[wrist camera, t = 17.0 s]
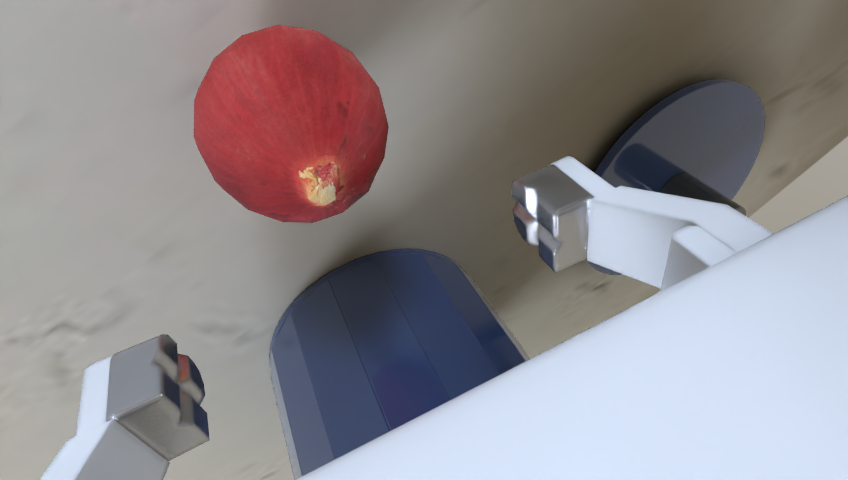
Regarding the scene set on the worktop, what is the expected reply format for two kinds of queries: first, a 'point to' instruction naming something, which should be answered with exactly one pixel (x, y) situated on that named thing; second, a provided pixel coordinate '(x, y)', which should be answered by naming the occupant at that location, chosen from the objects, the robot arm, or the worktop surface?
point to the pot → (381, 351)
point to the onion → (290, 124)
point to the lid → (690, 145)
